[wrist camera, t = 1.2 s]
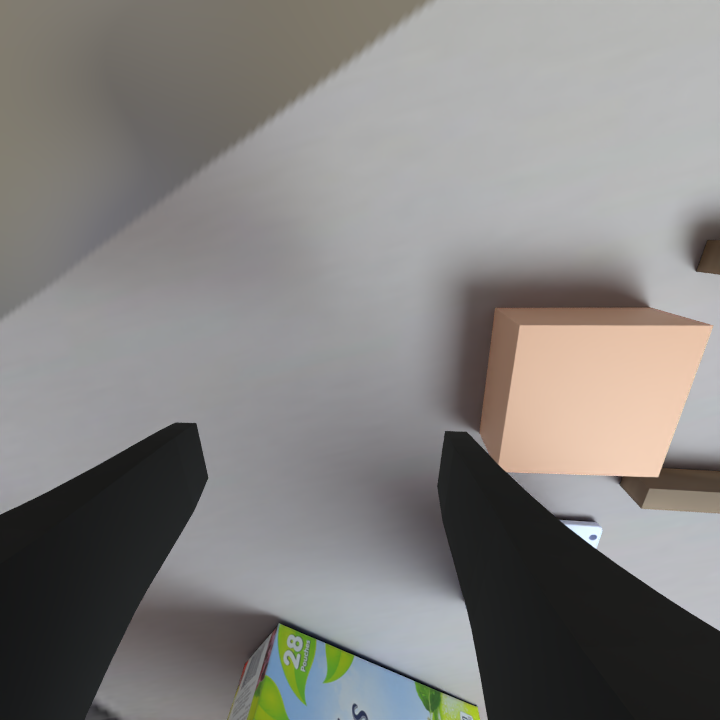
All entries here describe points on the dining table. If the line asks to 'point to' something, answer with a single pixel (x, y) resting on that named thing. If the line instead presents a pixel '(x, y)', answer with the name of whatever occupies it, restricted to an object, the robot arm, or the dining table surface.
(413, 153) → the dining table surface
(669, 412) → the carton
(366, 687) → the snack box
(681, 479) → the brown u-shaped wooden frame
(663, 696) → the robot arm
